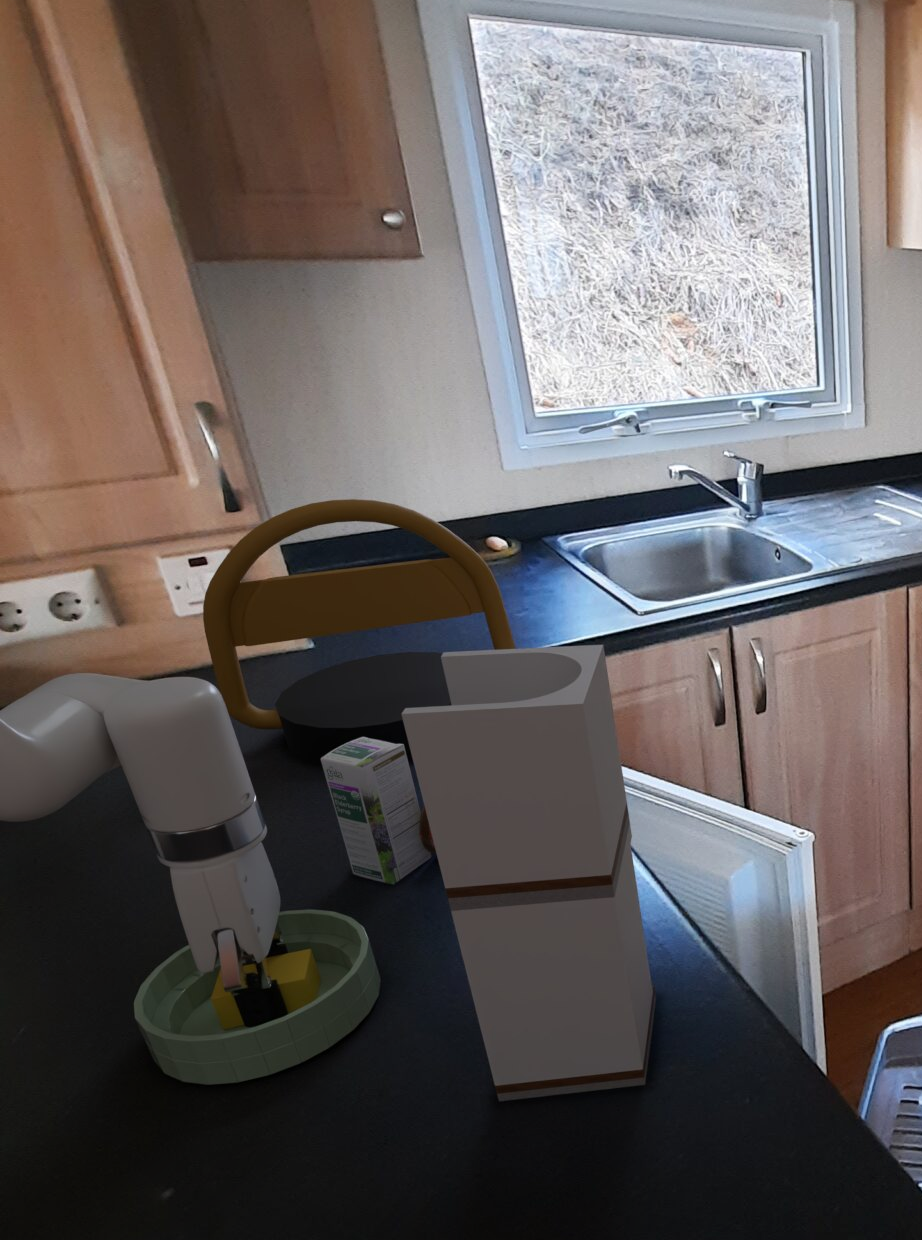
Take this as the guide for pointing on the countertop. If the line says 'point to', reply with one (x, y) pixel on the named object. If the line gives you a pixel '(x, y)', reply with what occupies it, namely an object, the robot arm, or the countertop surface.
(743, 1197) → the countertop surface
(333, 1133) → the countertop surface
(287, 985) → the sponge
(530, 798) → the striped white pedestal
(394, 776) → the syrup box
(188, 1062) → the bowl
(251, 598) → the chair
